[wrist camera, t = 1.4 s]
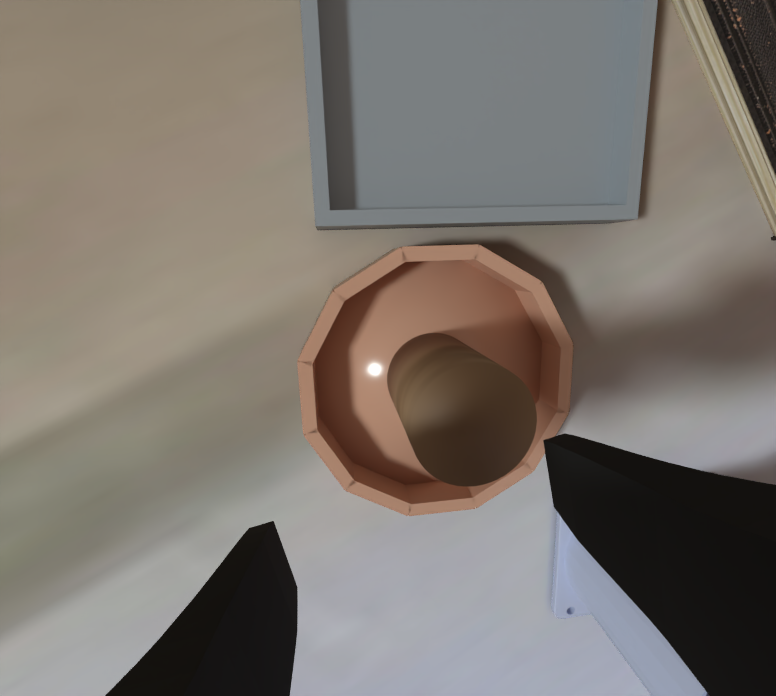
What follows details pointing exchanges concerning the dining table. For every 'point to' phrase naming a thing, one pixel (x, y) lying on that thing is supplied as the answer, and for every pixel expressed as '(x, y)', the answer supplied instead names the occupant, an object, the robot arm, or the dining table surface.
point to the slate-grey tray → (476, 111)
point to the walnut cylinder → (460, 410)
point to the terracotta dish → (402, 323)
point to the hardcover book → (741, 79)
